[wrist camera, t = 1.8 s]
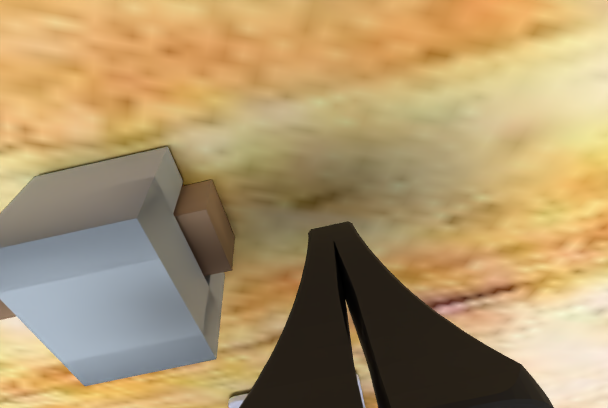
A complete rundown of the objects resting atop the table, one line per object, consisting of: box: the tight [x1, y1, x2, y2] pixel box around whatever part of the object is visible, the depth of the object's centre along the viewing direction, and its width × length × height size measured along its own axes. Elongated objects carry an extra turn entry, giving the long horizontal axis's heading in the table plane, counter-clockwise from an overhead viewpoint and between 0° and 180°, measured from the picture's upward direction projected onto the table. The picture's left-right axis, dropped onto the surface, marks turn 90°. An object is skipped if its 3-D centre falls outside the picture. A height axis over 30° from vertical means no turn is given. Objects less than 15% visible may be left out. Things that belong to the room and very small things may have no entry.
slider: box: [0, 147, 225, 386], centre depth 14 cm, size 7×5×4 cm
